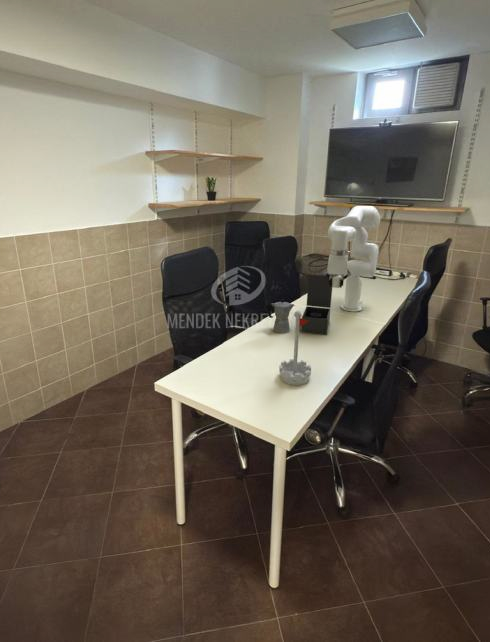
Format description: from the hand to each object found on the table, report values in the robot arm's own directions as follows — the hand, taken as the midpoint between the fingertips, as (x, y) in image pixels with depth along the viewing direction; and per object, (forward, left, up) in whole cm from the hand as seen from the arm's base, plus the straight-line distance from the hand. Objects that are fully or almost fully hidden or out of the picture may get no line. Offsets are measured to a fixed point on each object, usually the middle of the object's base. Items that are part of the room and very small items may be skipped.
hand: (335, 286), depth 189 cm
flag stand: (+55, +19, -25) cm, 63 cm away
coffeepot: (+22, -19, -25) cm, 39 cm away
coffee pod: (0, 0, 0) cm, 0 cm away
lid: (-5, -13, -7) cm, 16 cm away
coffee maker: (+4, -8, -25) cm, 27 cm away
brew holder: (+7, -7, -25) cm, 27 cm away
